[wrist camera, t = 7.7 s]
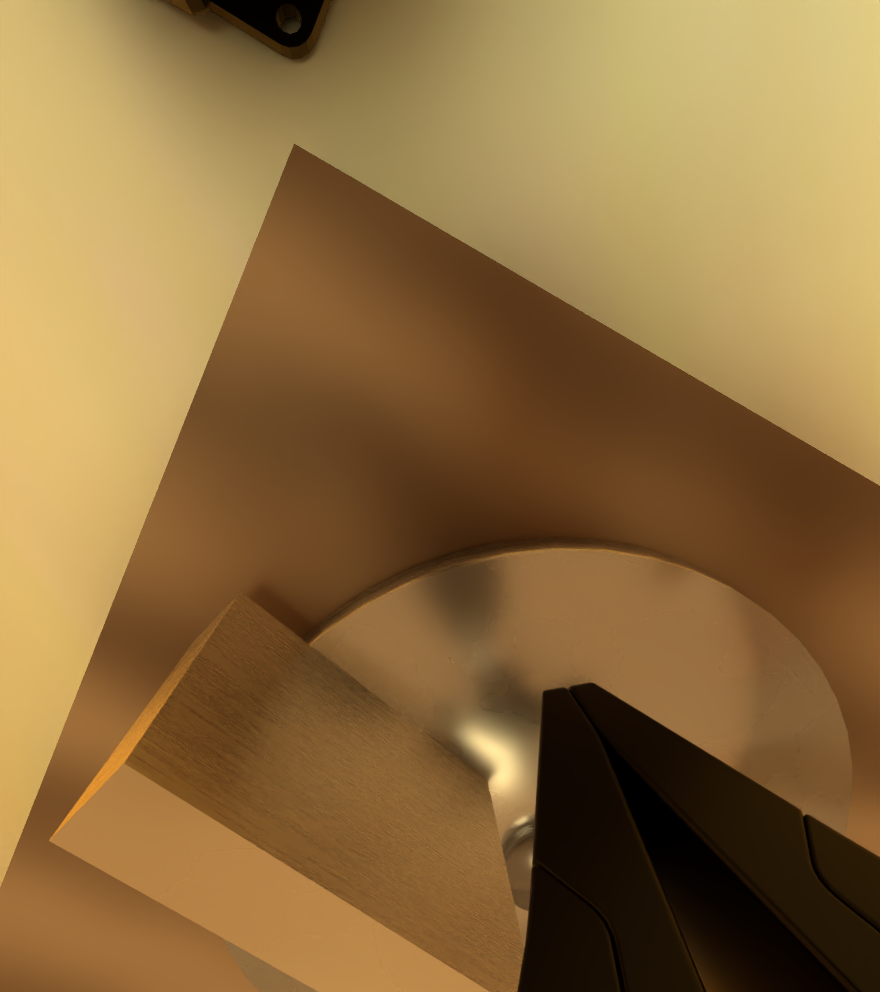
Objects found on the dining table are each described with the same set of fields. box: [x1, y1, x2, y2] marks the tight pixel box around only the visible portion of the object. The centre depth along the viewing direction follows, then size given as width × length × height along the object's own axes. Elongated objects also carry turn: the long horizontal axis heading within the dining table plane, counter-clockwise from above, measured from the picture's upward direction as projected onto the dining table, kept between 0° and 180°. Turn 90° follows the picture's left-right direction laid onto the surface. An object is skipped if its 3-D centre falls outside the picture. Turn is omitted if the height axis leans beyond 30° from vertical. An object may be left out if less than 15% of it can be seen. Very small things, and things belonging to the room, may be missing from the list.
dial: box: [49, 537, 852, 992], centre depth 12 cm, size 22×18×6 cm
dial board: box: [0, 144, 880, 992], centre depth 16 cm, size 26×26×2 cm
